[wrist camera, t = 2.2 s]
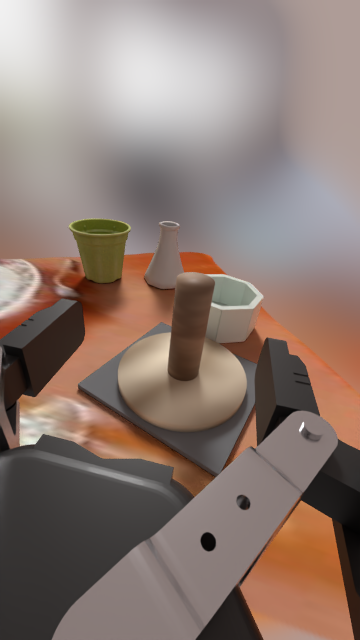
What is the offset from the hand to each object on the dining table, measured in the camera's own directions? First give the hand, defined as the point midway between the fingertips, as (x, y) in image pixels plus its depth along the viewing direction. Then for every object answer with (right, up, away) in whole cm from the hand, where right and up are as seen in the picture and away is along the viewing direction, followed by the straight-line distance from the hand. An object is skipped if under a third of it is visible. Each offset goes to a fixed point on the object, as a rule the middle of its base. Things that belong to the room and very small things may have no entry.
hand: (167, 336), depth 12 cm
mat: (+1, -6, +17) cm, 18 cm away
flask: (-2, +7, +37) cm, 38 cm away
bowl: (+6, +1, +27) cm, 28 cm away
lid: (+1, -5, +17) cm, 17 cm away
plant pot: (-13, +8, +36) cm, 39 cm away
